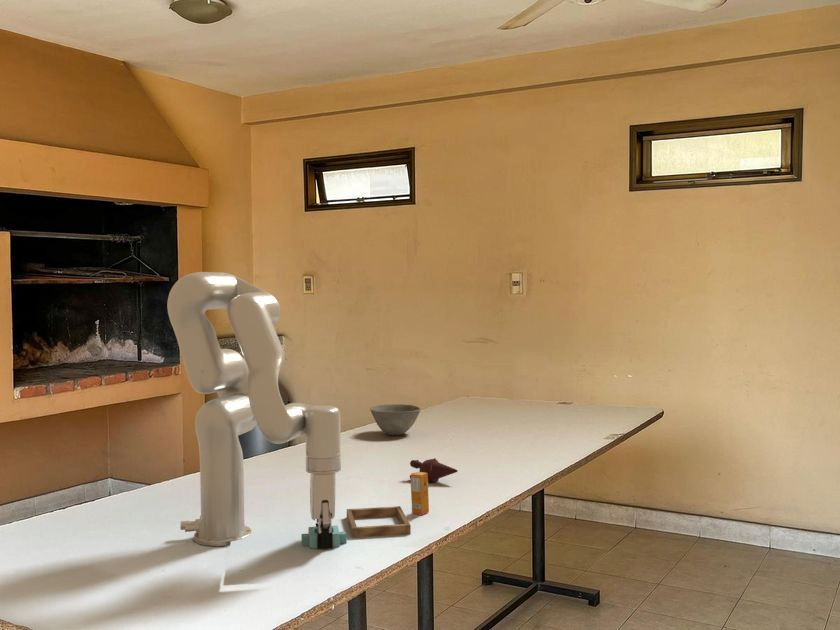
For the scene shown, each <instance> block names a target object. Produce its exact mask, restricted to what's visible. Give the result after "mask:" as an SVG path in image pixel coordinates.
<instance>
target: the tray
mask: <svg viewBox="0 0 840 630" xmlns="http://www.w3.org/2000/svg"><path fill="white" fill-rule="evenodd" d="M384 517H387V518H388V517H396V518H397V519H398V521H399V523H400V524H386V525H385V524H384V525H371V526H370V525H369V526H367V525H366V526H357V524H356V521H355V519H367V518H370V519H371V518H384ZM346 520H347V523H348V526H349V530H350V533H351V537H352V538H353V539H355V538H367V537H369V538H370V537H384V536H400V535H411V534H412V533H411V532H412V531H411V528H412V527H411V524H410V521H409V520H408V518H407V516H406V514H405V513H404V510H403V509H402V507H401V505H400V506H399V505H398V506H396V505H395V506H382V507H380V506H379V507H378V506H377V507H362V508H346Z"/></svg>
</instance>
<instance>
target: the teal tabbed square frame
mask: <svg viewBox="0 0 840 630" xmlns="http://www.w3.org/2000/svg"><path fill="white" fill-rule="evenodd" d="M331 526H332V532H333V548H337V547H338V548H339V547H341V544H347V532H346V531H347V530H346V531H340V529H339V526H338V525H331ZM307 531H308V533H301V547H303V546H307V547H308V546H309V549H317V533H319V530H318V527H316V526H309V527H308V530H307Z"/></svg>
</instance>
